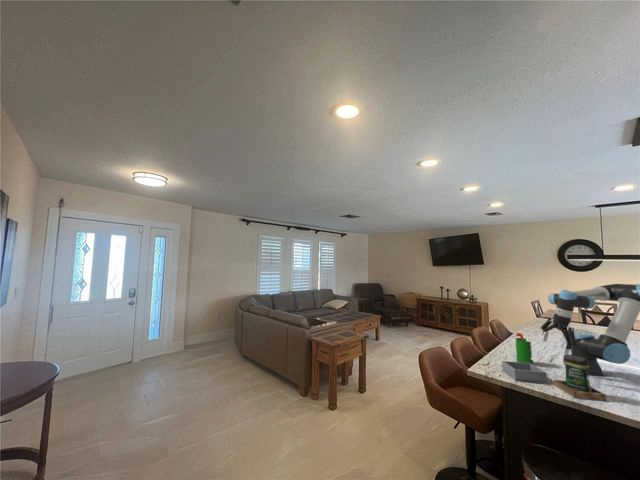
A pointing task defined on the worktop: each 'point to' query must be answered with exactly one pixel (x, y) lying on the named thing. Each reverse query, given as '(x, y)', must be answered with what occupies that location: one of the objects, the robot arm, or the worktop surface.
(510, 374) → the charcoal bin
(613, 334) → the robot arm
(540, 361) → the worktop surface
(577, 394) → the walnut collar
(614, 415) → the worktop surface
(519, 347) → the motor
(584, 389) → the coffee jar
